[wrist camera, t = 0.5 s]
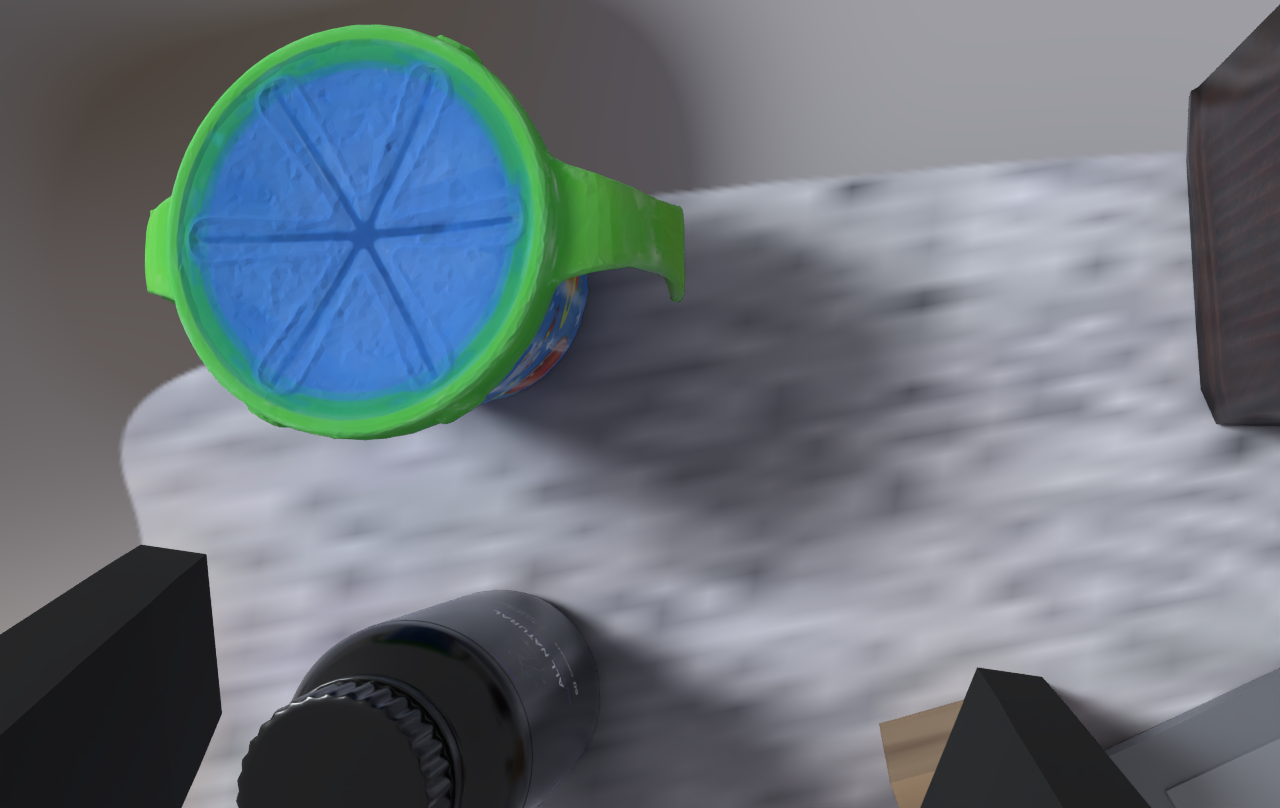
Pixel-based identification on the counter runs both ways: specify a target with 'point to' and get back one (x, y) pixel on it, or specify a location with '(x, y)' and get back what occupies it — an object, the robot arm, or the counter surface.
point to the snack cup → (387, 237)
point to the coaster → (1211, 752)
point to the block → (916, 750)
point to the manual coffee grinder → (1238, 229)
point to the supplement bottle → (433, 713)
